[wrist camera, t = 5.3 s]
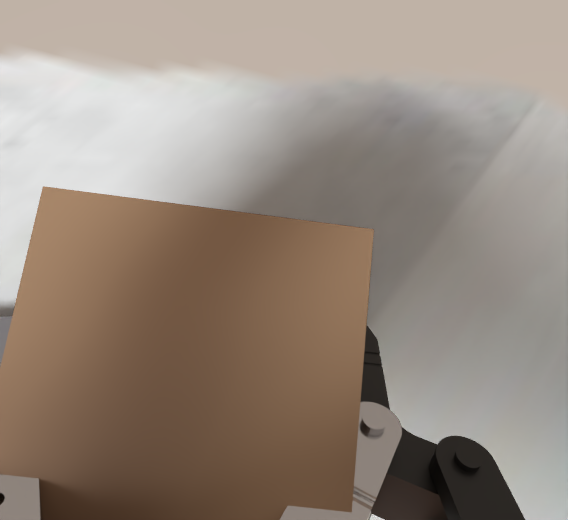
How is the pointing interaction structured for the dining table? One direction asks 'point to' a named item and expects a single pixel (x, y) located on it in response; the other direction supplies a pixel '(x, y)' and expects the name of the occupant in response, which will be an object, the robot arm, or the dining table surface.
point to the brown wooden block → (184, 361)
